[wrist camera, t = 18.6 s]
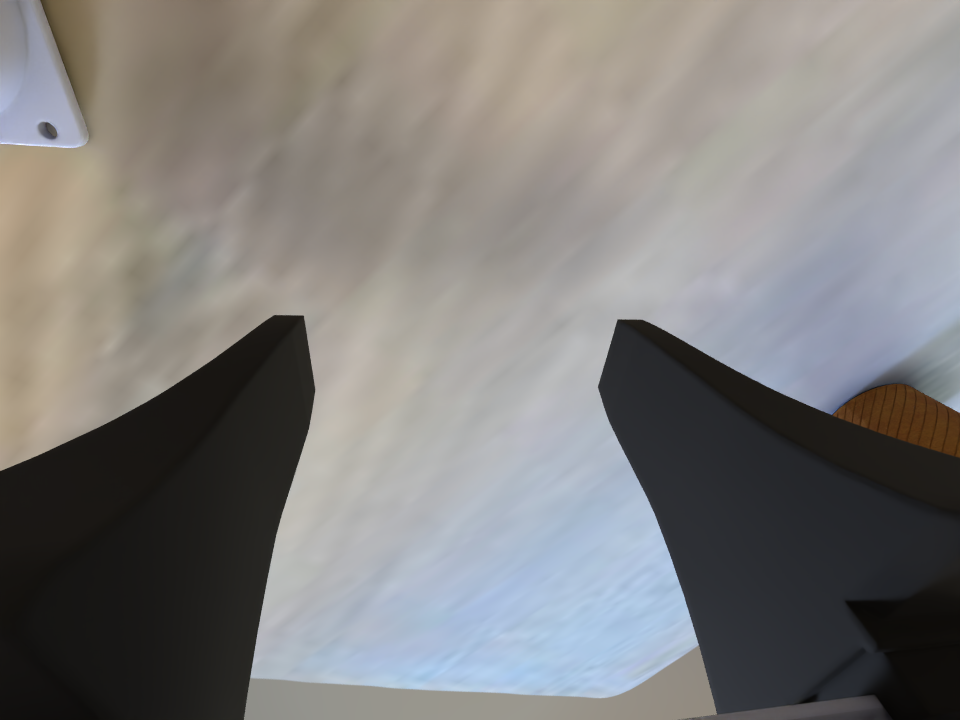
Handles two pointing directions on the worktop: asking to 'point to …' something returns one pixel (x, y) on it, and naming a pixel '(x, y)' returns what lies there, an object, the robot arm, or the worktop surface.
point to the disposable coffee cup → (906, 417)
